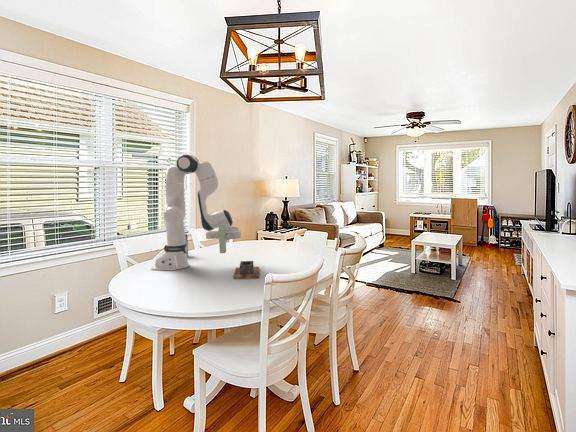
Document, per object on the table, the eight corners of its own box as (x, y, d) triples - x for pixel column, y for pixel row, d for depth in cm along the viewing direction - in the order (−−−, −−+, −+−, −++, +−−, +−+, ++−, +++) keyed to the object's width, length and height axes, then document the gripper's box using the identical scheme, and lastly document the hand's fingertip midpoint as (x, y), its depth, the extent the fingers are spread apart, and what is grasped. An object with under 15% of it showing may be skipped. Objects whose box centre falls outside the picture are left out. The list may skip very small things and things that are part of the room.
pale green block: (219, 253, 188) (218, 225, 187) (221, 251, 194) (219, 224, 193) (225, 253, 189) (224, 225, 187) (226, 251, 195) (225, 223, 193)
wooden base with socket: (233, 279, 184) (233, 268, 183) (236, 269, 203) (235, 259, 203) (258, 278, 185) (258, 267, 184) (259, 268, 204) (258, 258, 204)
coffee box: (188, 255, 243) (187, 234, 241) (182, 257, 237) (181, 235, 235) (179, 254, 246) (178, 233, 245) (172, 256, 241) (171, 234, 239)
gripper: (207, 228, 202) (203, 232, 189) (241, 227, 204) (239, 231, 190) (207, 238, 203) (204, 243, 189) (241, 237, 205) (240, 241, 191)
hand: (222, 236), depth 190 cm, fingers closed on pale green block, 3 cm apart
